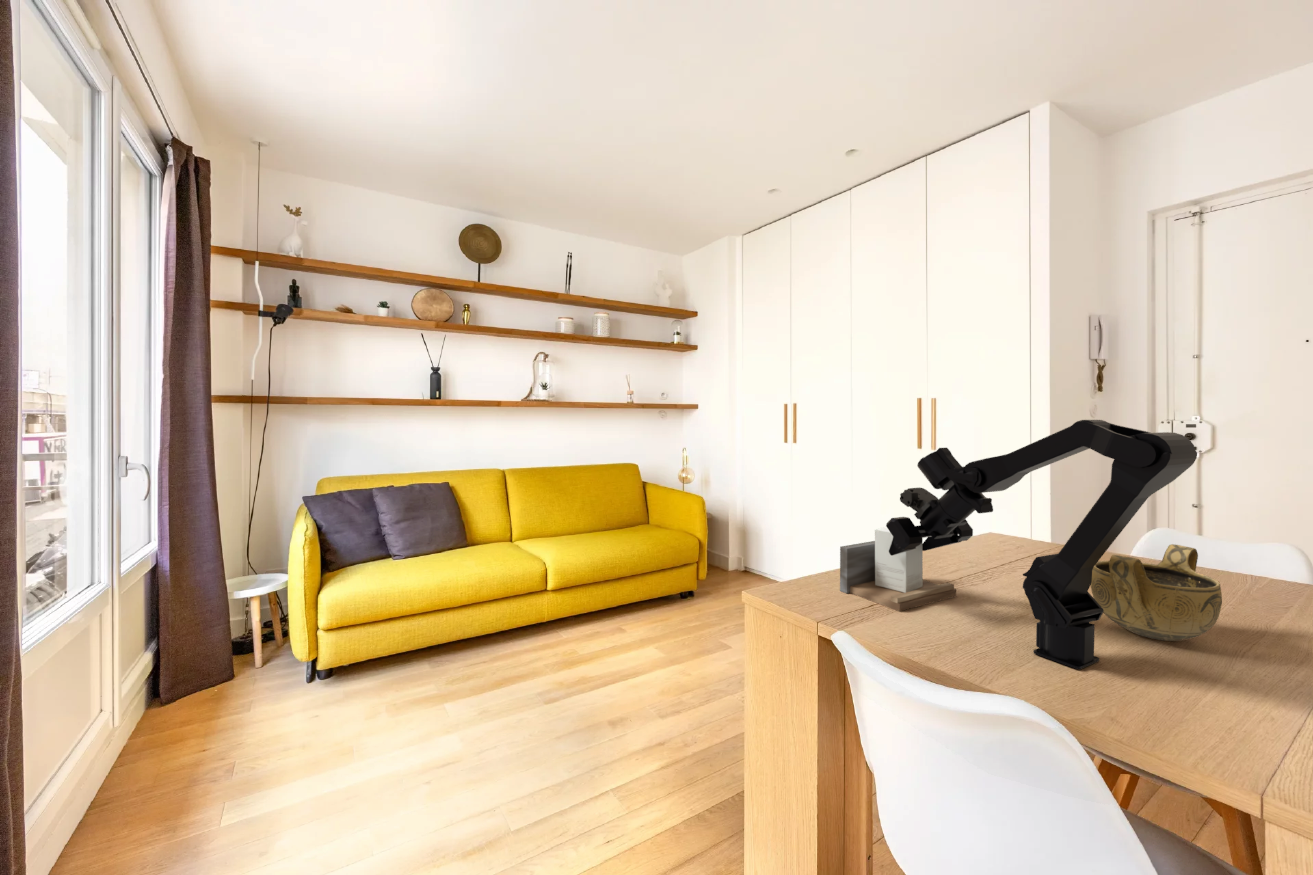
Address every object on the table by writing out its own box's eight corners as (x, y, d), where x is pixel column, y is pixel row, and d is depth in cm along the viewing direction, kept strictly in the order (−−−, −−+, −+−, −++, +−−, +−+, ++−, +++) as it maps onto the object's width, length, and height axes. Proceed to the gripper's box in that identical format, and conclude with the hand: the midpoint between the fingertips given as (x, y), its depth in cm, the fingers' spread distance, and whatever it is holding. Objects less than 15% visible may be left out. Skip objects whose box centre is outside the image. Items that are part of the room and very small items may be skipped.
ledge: (959, 595, 113) (959, 549, 112) (896, 612, 104) (896, 562, 103) (900, 577, 126) (900, 536, 125) (839, 590, 117) (840, 546, 116)
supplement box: (923, 587, 114) (924, 529, 114) (906, 594, 110) (906, 534, 109) (891, 578, 120) (891, 524, 120) (873, 585, 116) (873, 528, 115)
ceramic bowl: (1181, 666, 81) (1184, 570, 80) (1059, 626, 96) (1061, 545, 96) (1247, 640, 90) (1250, 553, 89) (1126, 607, 105) (1128, 533, 105)
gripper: (960, 473, 111) (916, 517, 121) (893, 478, 104) (853, 524, 114) (996, 517, 104) (946, 558, 114) (927, 525, 97) (881, 569, 107)
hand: (906, 551), depth 113 cm, fingers open, 9 cm apart
